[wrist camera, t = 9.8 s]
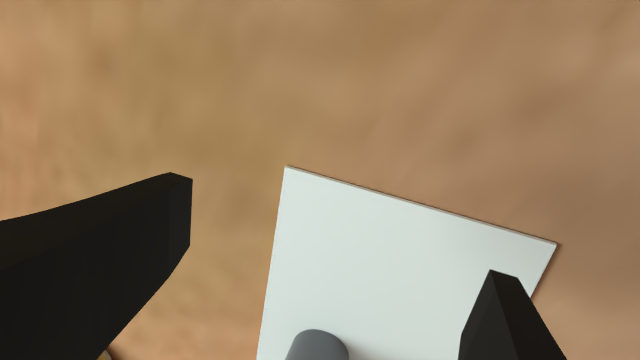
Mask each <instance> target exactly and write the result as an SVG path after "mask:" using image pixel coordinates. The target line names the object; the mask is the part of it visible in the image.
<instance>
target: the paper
mask: <svg viewBox="0 0 640 360" xmlns="http://www.w3.org/2000/svg"><path fill="white" fill-rule="evenodd" d="M556 246H557V245H556V243H555V242H551V241H548V240H545V239H541V238H538V237H534V236H531V235H527V234H524V233H520V232H517V231H513V230H510V229H506V228H503V227H499V226H496V225H492V224H489V223H486V222H482V221H479V220H475V219H472V218H468V217H465V216H461V215H458V214H454V213H451V212H447V211H444V210H440V209H437V208H433V207H430V206H427V205H423V204H420V203H416V202H413V201H409V200H406V199H402V198H399V197H395V196H392V195H388V194H385V193H381V192H378V191H375V190H371V189H368V188H364V187H361V186H357V185H354V184H350V183H347V182H343V181H340V180H336V179H333V178H329V177H326V176H322V175H319V174H316V173H312V172H309V171H305V170H302V169H298V168H295V167H291V166H288V165H286V166H285V171H284V178H283V184H282V191H281V198H280V204H279V211H278V218H277V225H276V231H275V238H274V245H273V251H272V258H271V265H270V271H269V278H268V285H267V291H266V298H265V305H264V311H263V318H262V325H261V332H260V338H259V345H258V352H257V358H256V360H285V358H286V356H287V354H288V352H289V349H290V347H291V345H292V342H293V340H294V338H295V337H296V335H297V334H299V333H300V332H302V331H304V330H309V329H318V330H323V331H326V332H329V333H331V334H333V335H334V336H336V337H337V338H338V339H340V340H341V341H342V342H343V344H344V345H345V346H346V348H347V350H348V353H349V360H458V354H459V346H460V338H461V333H462V331H463V329H464V327H465V324H466V322H467V320H468V317H469V315H470V313H471V311H472V308H473V306H474V304H475V301H476V299H477V297H478V295H479V292H480V290H481V288H482V285H483V283H484V281H485V279H486V276H487V274H488V272H489V269H491V270H495V271H498V272H501V273H505V274H508V275H511V276H515V277H518V279H519V280H520V282H521V284H522V285H523V287H524V289H525V290H526V292H527V294H528V296H529V297H531V295H532V293H533V291H534V289H535V287H536V285H537V283H538V281H539V279H540V277H541V275H542V273H543V271H544V269H545V268H546V266H547V264H548V262H549V260H550V258H551V256H552V254H553V252H554V250H555V248H556Z"/></svg>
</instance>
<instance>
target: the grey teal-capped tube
mask: <svg viewBox="0 0 640 360" xmlns="http://www.w3.org/2000/svg"><path fill="white" fill-rule="evenodd" d="M285 360H349V353H348V350H347V348H346V346H345V345H344V344H343V342H342V341H341V340H340V339H338V338H337V337H336V336H334V335H333V334H331V333H329V332H326V331H323V330H318V329H309V330H304V331H302V332H300V333H299V334H297V335H296V337H295V338H294V340H293V342H292V345H291V347H290V349H289V352H288V354H287V356H286V358H285Z"/></svg>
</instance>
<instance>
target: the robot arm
mask: <svg viewBox="0 0 640 360" xmlns="http://www.w3.org/2000/svg"><path fill="white" fill-rule="evenodd" d="M192 183H193V179H191V178H188V177H184V176H181V175H178V174H175V173H171V172H169V173H165V174H161V175H157V176H154V177H151V178H148V179H145V180H142V181H139V182H136V183H133V184H130V185H127V186H124V187H121V188H118V189H115V190H111V191H108V192H105V193H102V194H99V195H96V196H93V197H90V198H87V199H83V200H80V201H76V202H73V203H70V204H66V205H63V206H59V207H56V208H52V209H49V210H45V211H42V212H38V213H34V214H29V215H25V216H21V217H16V218H12V219H7V220H2V221H0V360H97V359H98V358H99V357H100V355H101V354H102V353H103V352H104V350H105V349H106V348H107V347H108V346H109V344H110V343H111V342H112V341H113V340H114V339H115V338H116V337H117V335H118V334H119V333H120V332H121V331H122V330H123V329H124V328H125V327H126V325H127V324H128V323H129V322H130V321H131V320H132V319H133V318H134V316H135V315H136V314H137V313H138V312H139V311H140V310H141V309H142V307H143V306H144V305H145V304H146V303H147V302H148V301H149V300H150V298H151V297H152V296H153V295H154V294H155V293H156V292H157V291H158V289H159V288H160V287H161V286H162V285H163V284H164V282H165V281H166V280H167V279H168V278H169V276H170V275H171V273H172V272H173V271H174V269H175V268H176V266H177V265H178V263H179V262H180V260H181V259H182V257H183V256H184V254H185V252H186V251H187V249H188V248H189V246H190V229H191V206H192ZM458 360H567V359H566V357H565V356H564V354H563V353H562V351H561V349H560V348H559V346H558V345H557V343H556V341H555V340H554V338H553V337H552V335H551V333H550V332H549V330H548V328H547V327H546V325H545V323H544V322H543V320H542V318H541V317H540V315H539V313H538V311H537V310H536V308H535V306H534V305H533V303H532V301H531V299H530V297H529V296H528V294H527V292H526V290H525V289H524V287H523V285H522V284H521V282H520V280H519V279H518V277H515V276H511V275H508V274H505V273H501V272H498V271H495V270H491V269H489V272H488V274H487V276H486V279H485V281H484V283H483V285H482V288H481V290H480V292H479V295H478V297H477V299H476V301H475V304H474V306H473V308H472V311H471V313H470V315H469V317H468V320H467V322H466V324H465V327H464V329H463V331H462V333H461V338H460V346H459V354H458Z"/></svg>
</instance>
